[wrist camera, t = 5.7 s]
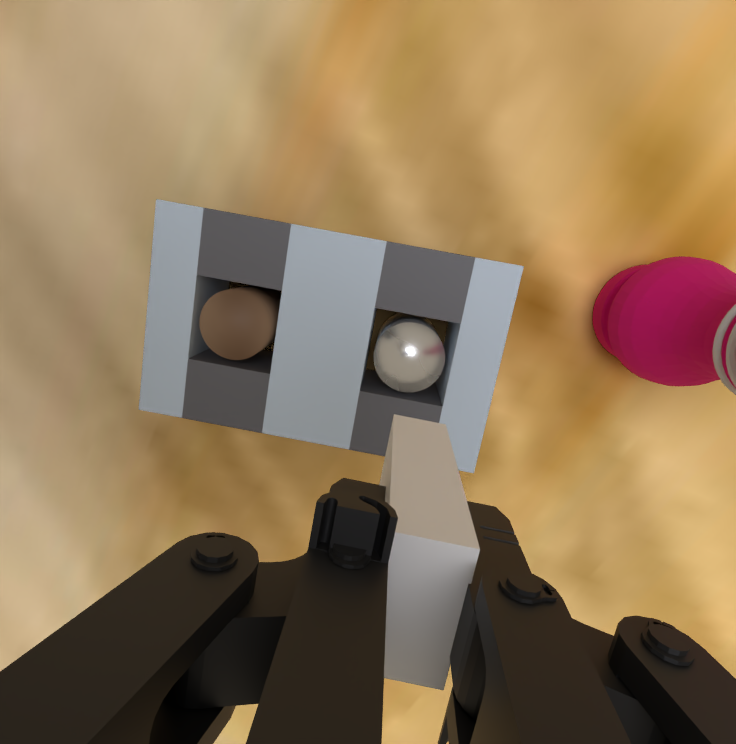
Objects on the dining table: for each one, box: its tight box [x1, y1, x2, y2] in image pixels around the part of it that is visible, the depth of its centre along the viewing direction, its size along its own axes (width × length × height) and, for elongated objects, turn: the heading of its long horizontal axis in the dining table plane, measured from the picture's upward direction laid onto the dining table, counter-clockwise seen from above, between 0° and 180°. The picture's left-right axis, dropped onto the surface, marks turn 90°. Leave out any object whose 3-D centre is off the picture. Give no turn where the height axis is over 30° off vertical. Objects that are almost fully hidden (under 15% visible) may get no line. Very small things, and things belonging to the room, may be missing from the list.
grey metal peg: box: [374, 313, 445, 392], centre depth 32 cm, size 4×4×6 cm
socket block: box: [139, 199, 524, 473], centre depth 32 cm, size 20×12×6 cm, turn 80°
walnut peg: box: [199, 285, 281, 360], centre depth 32 cm, size 4×4×6 cm
